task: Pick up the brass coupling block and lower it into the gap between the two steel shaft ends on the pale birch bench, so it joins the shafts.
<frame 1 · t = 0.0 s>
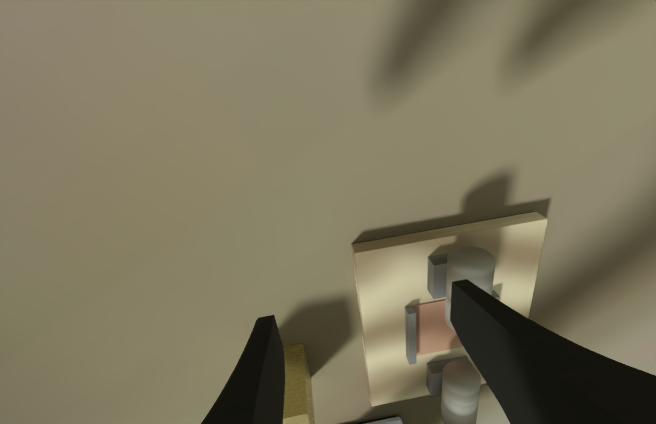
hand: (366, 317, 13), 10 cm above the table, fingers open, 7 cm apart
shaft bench: (441, 314, 27), on the table
coupler: (284, 365, 28), on the table
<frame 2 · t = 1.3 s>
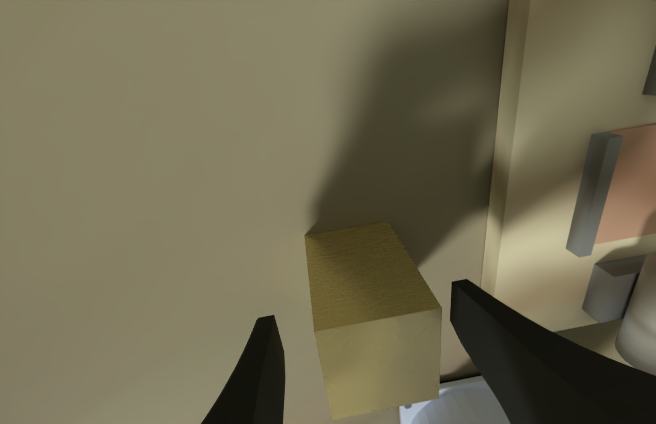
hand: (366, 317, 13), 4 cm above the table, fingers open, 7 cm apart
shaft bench: (627, 174, 16), on the table
coupler: (350, 265, 16), on the table
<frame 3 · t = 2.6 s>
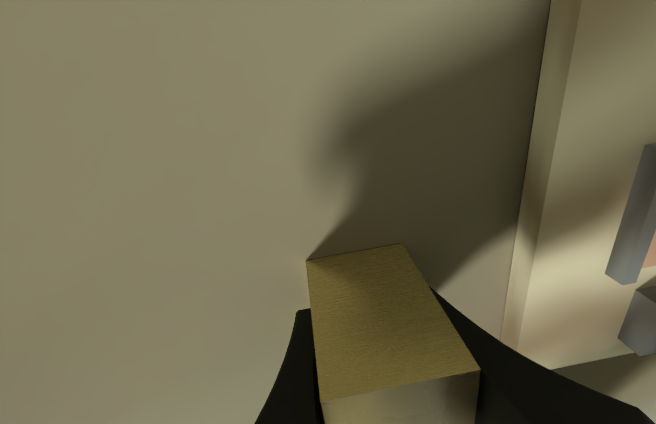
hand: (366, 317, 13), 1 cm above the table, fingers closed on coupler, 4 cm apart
coupler: (358, 293, 14), on the table, touching gripper
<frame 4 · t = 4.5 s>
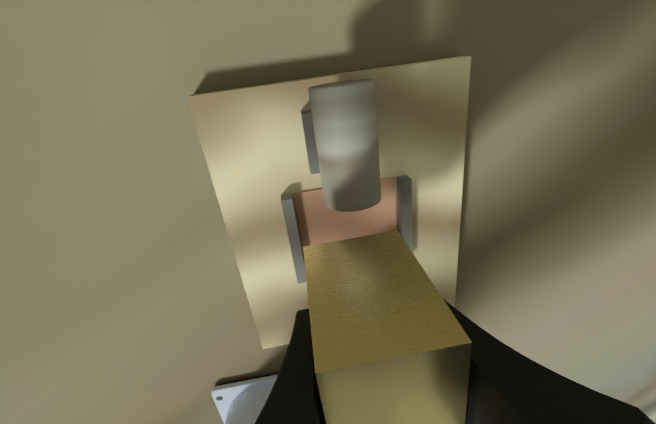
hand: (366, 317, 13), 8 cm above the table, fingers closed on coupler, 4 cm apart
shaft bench: (345, 219, 20), on the table
coupler: (355, 280, 14), point 7 cm above the table, touching gripper
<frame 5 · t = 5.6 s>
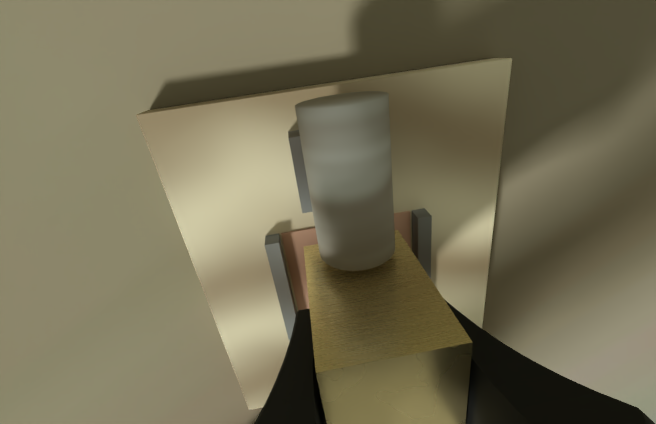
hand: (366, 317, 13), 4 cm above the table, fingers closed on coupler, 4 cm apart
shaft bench: (347, 258, 17), on the table
coupler: (355, 280, 14), point 2 cm above the table, touching gripper
when the fingers open (4 cm above the table, at t = 6.4 s): coupler stays where it is, resting on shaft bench.
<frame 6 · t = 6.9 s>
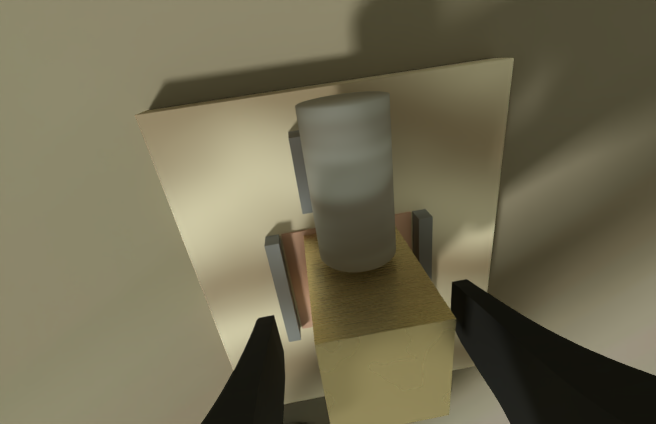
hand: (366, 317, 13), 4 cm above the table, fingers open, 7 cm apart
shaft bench: (348, 259, 17), on the table
coupler: (352, 268, 15), point 1 cm above the table, touching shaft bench
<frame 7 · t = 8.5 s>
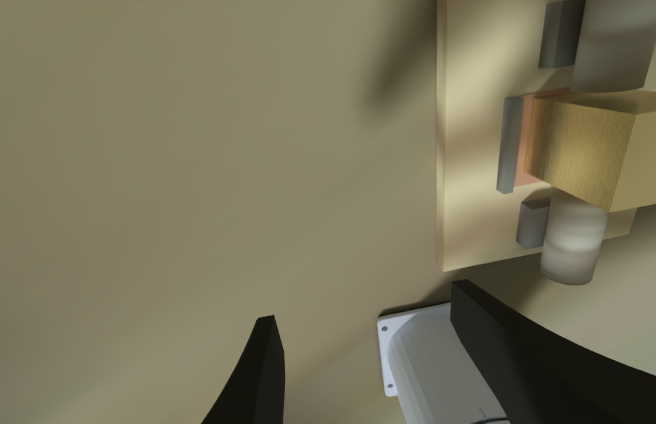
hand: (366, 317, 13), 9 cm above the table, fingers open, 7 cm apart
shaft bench: (542, 132, 21), on the table
coupler: (559, 130, 19), point 1 cm above the table, touching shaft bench
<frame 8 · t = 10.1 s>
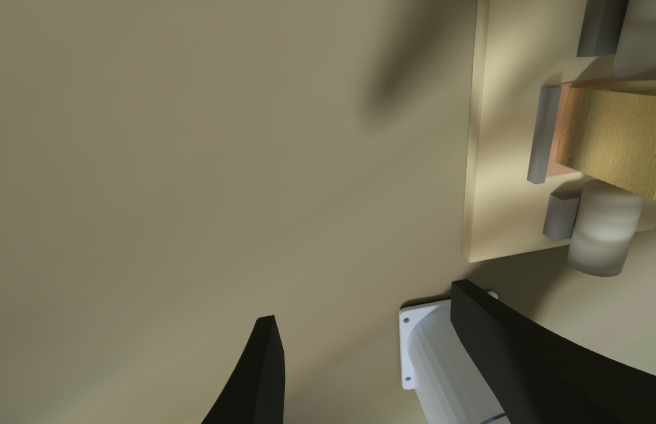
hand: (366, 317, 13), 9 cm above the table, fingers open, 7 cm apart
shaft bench: (574, 123, 21), on the table
coupler: (593, 121, 19), point 1 cm above the table, touching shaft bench
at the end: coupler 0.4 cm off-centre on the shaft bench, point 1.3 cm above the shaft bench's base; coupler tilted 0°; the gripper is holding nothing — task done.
